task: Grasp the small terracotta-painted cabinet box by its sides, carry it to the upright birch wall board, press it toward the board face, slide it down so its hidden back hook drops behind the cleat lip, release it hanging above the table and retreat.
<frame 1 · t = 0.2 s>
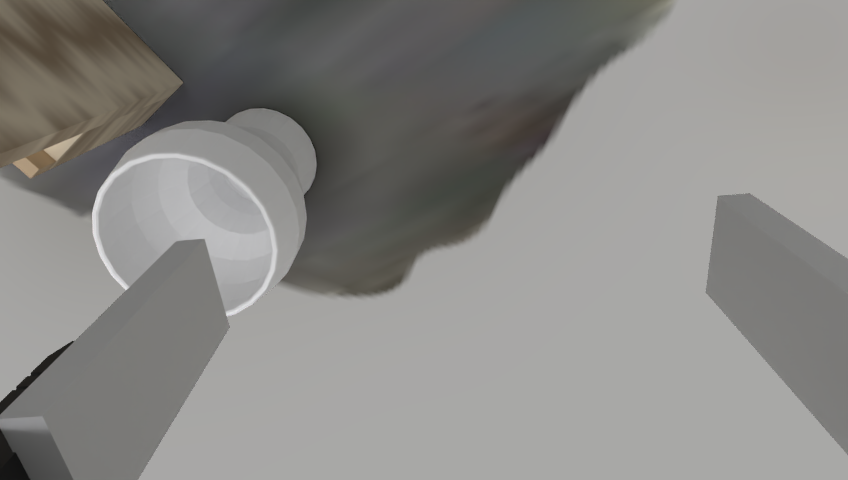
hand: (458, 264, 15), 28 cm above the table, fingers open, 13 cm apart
cup: (266, 158, 43), on the table
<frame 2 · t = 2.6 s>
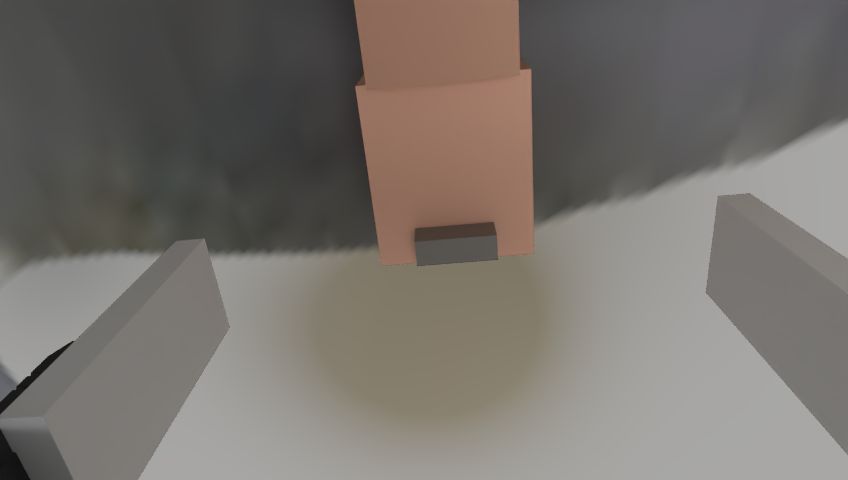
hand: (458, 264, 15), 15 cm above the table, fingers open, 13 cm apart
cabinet: (446, 123, 28), on the table
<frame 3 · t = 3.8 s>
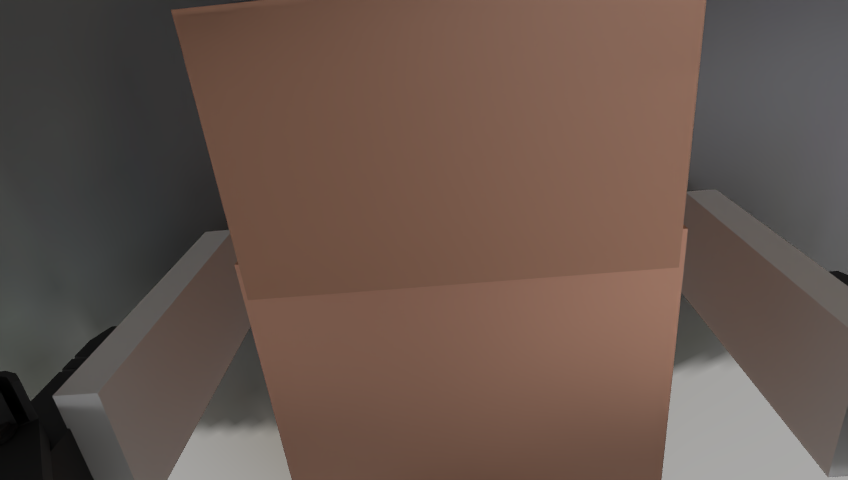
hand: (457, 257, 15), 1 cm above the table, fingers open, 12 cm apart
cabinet: (455, 237, 16), on the table
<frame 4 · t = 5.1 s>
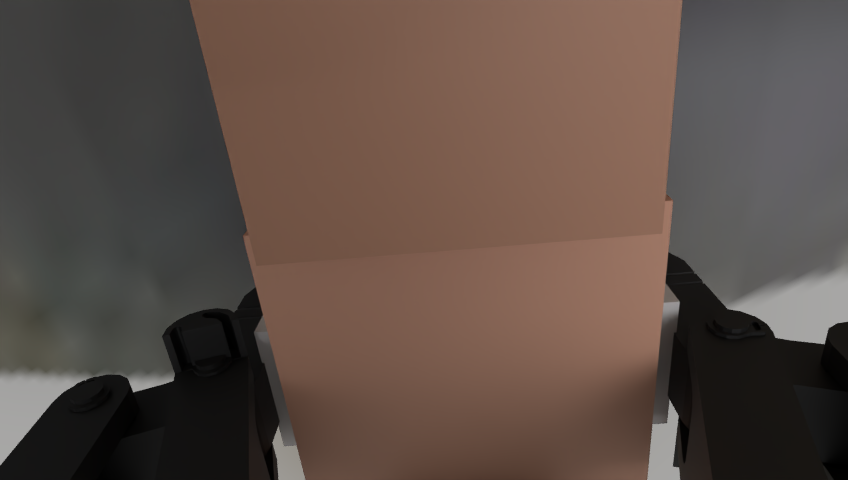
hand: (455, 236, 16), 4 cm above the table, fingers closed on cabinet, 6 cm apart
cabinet: (455, 222, 17), point 3 cm above the table, touching gripper
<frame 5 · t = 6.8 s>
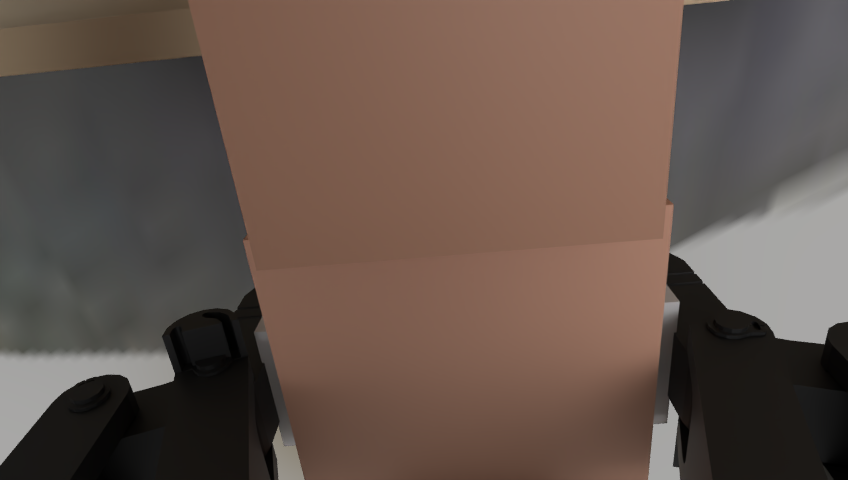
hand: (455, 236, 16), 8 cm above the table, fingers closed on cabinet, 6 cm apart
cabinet: (455, 224, 16), point 8 cm above the table, touching gripper
when the fingers open (5 cm above the table, at t = 8.4 s): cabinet stays where it is, resting on wallboard.
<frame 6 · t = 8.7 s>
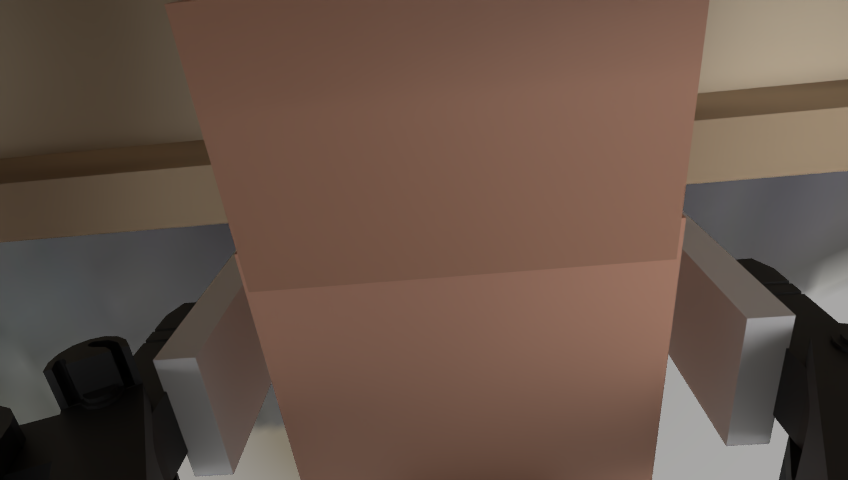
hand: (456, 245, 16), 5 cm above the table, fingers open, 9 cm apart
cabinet: (454, 215, 16), point 4 cm above the table, touching wallboard
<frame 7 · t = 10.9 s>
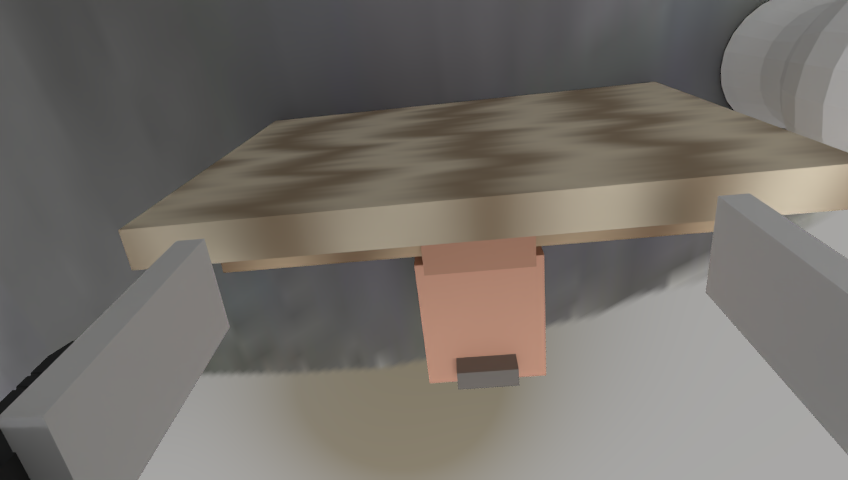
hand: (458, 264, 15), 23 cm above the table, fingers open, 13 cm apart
cup: (784, 61, 34), on the table
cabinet: (474, 248, 35), point 4 cm above the table, touching wallboard
wallboard: (463, 133, 36), on the table
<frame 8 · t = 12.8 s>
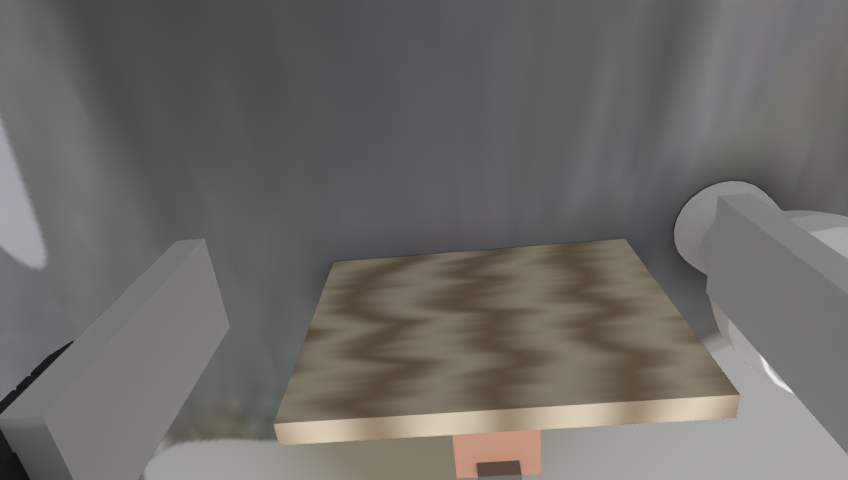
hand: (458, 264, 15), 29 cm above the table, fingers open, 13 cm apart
cup: (721, 225, 45), on the table
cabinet: (486, 364, 46), point 4 cm above the table, touching wallboard
wallboard: (478, 271, 47), on the table
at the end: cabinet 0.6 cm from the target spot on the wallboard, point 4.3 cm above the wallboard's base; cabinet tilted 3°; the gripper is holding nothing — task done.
